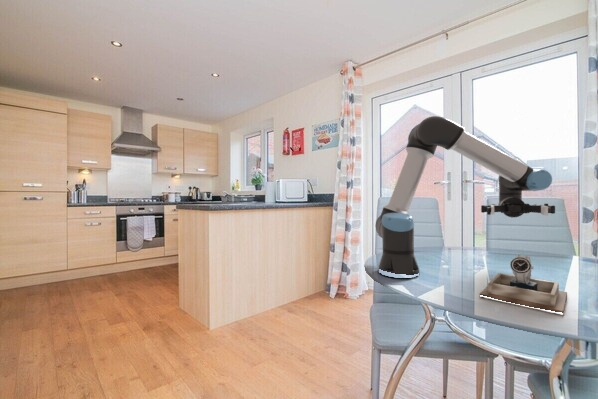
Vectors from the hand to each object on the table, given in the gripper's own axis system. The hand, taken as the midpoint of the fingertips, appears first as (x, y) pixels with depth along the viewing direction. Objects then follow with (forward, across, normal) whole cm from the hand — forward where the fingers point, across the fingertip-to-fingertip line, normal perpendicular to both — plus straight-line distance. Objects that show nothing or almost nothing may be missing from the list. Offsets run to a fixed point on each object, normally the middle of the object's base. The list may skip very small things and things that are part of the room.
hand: (518, 210), depth 90 cm
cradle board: (+10, 0, -25) cm, 27 cm away
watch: (+10, 0, -24) cm, 26 cm away
